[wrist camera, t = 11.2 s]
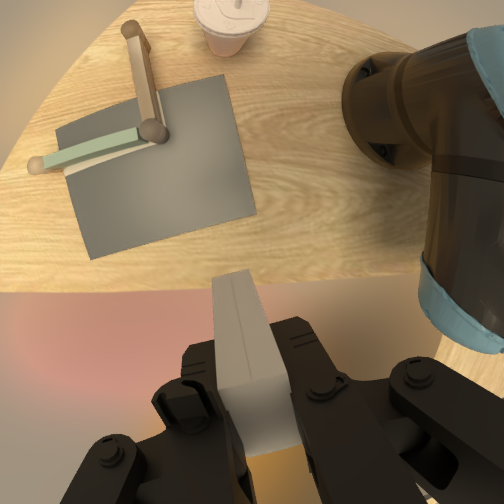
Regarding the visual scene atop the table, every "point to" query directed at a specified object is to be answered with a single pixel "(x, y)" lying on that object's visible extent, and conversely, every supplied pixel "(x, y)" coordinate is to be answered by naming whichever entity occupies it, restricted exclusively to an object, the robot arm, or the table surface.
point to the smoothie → (229, 22)
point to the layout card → (159, 171)
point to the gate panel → (85, 151)
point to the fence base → (144, 84)
